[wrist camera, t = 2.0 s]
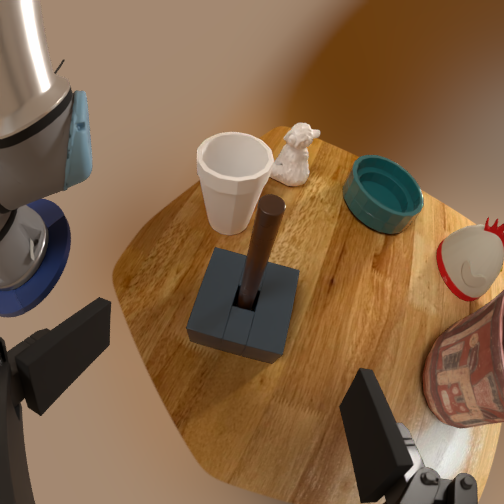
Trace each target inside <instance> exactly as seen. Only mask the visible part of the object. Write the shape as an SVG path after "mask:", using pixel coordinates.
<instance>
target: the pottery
mask: <svg viewBox="0 0 504 504" xmlns="http://www.w3.org/2000/svg"><path fill="white" fill-rule="evenodd" d="M423 390H424V395H425V397H426V400H427V403H428V406H429V409H430V410H431V411H432V412H433V413H434V414H435V415H436V417H437V418H438V419H439V420H440V421H442V422H443V423H445V424H448V425H451V426H454V427H457V428H469V427H475V426H481V425H486V424H493V423H500V422H504V290H503V291H502V292H501V293H500V294H499V295H498V296H496V297H495V298H494V299H493V300H492V301H490V302H489V303H487V304H486V305H485V306H483V307H482V308H480V309H479V310H477V311H476V312H474V313H472V314H470V315H469V316H467V317H465V318H463V319H461V320H460V321H458V322H456V323H454V324H453V325H452V326H450V327H449V328H448V329H447V330H446V331H445V332H444V333H442V334H441V335H440V336H439V337H438V338H437V339H436V341H435V343H434V345H433V347H432V349H431V351H430V353H429V354H428V356H427V358H426V362H425V367H424V371H423Z"/></svg>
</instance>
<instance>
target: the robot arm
mask: <svg viewBox="0 0 504 504" xmlns="http://www.w3.org/2000/svg"><path fill="white" fill-rule="evenodd" d="M63 62H64V60H63V61H62V62H61V64H60V65H59V67H58V68H57V70H56V71H55V72H53V69H52V65H51V60H50V55H49V51H48V46H47V40H46V35H45V29H44V24H43V17H42V11H41V3H40V0H0V291H10V290H14V289H16V288H18V287H20V286H21V285H23V284H24V283H25V282H27V281H28V280H29V279H30V278H31V277H32V276H33V274H34V273H35V272H36V271H37V269H38V268H39V266H40V264H41V262H42V260H43V258H44V256H45V253H46V250H47V246H48V229H47V226H46V224H45V222H44V221H43V219H42V218H41V216H40V215H39V214H38V213H37V212H36V211H34V210H33V209H31V208H30V207H28V206H27V205H26V204H29V203H31V202H34V201H36V200H39V199H41V198H44V197H46V196H49V195H52V194H54V193H57V192H60V191H65V190H67V188H69V187H71V186H73V185H76V184H78V183H81V182H83V181H85V180H86V179H87V178H88V177H89V175H90V174H91V171H92V150H91V139H90V127H89V115H88V105H87V98H86V93H85V92H84V91H75V92H74V93H72V91H71V87H70V83H69V80H68V79H67V78H65V77H63V76H59V75H57V74H56V73H57V71H58V70H59V68H60V67H61V65H62V64H63ZM110 313H111V302H110V301H108V300H105V299H103V298H100V297H99V298H97V299H96V300H94V301H93V302H92V303H90V304H89V305H87V306H85V307H84V308H83V309H81V310H80V311H78V312H77V313H75V314H74V315H72V316H71V317H69V318H68V319H66V320H65V321H64V322H62V323H61V324H59V325H58V326H56V327H55V328H54V329H52V330H49V329H47V328H46V329H43V330H39V331H37V332H35V333H34V334H32V335H31V336H30V337H28V338H26V339H25V340H24V341H22V342H21V343H19V344H18V345H16V346H15V347H13V348H12V349H11V350H9V351H8V352H7V351H6V346H5V341H4V340H3V339H2V338H1V337H0V504H35V501H34V497H33V492H32V488H31V483H30V478H29V472H28V466H27V459H26V452H25V444H24V435H23V421H22V406H21V403H20V402H21V401H22V400H23V399H24V398H25V399H26V403H27V406H28V408H30V409H31V410H33V411H34V412H36V413H37V414H39V415H40V416H41V415H42V414H43V413H44V412H45V411H46V410H47V409H48V408H49V407H50V406H51V405H52V404H53V403H54V402H55V400H56V399H57V398H58V397H59V396H60V395H61V394H62V393H63V392H64V391H65V390H66V389H67V388H68V387H69V386H70V385H71V384H72V383H73V382H74V381H75V380H76V379H77V378H78V376H80V375H81V373H82V372H83V371H84V370H85V369H86V368H87V367H88V366H89V365H90V364H91V363H92V362H93V361H94V360H95V359H96V358H97V357H98V356H99V355H100V354H101V353H102V352H103V351H104V350H105V349H106V348H107V347H108V346H109V345H110ZM339 408H340V412H341V416H342V420H343V424H344V428H345V432H346V437H347V441H348V445H349V450H350V454H351V459H352V463H353V468H354V472H355V477H356V482H357V487H358V492H359V497H360V502H361V503H370V502H377V501H378V500H379V499H380V498H382V497H383V496H384V495H385V499H386V502H385V503H383V504H478V497H477V483H476V480H475V479H474V477H472V476H471V475H470V474H467V473H461V474H458V475H457V476H456V477H455V478H454V479H453V480H448V479H441V478H440V476H439V474H438V473H437V472H436V471H435V470H433V469H431V468H428V467H425V465H424V463H423V461H422V458H421V456H420V454H419V452H418V449H417V447H416V446H415V443H414V440H412V436H411V434H410V432H409V430H408V429H407V428H406V427H405V426H404V424H403V423H396V421H395V418H394V416H393V414H392V412H391V409H390V407H389V405H388V403H387V401H386V398H385V396H384V394H383V392H382V390H381V388H380V385H379V383H378V381H377V379H376V377H375V375H374V373H373V371H372V370H370V369H363V368H359V370H358V372H357V374H356V376H355V378H354V380H353V382H352V384H351V386H350V388H349V390H348V391H347V393H346V395H345V397H344V399H343V401H342V403H341V404H340V406H339Z"/></svg>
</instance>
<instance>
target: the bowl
mask: <svg viewBox="0 0 504 504" xmlns="http://www.w3.org/2000/svg"><path fill="white" fill-rule="evenodd" d="M343 195H344V199H345V201H346V203H347V205H348V207H349V209H350V210H351V211H352V212H353V214H354V215H355V216H356V217H357V218H358V219H359V220H360V221H362V222H363V223H364V224H365V225H367V226H368V227H370V228H372V229H374V230H376V231H378V232H382V233H387V234H395V233H400V232H402V231H403V230H405V229H406V228H407V227H408V226H409V225H410V224H411V222H412V221H413V220H414V219H415V218H416V216H417V215H418V214H419V213H420V211H421V209H422V207H423V205H424V198H423V194H422V191H421V189H420V187H419V185H418V184H417V182H416V181H415V179H414V178H413V177H412V176H411V175H410V174H409V173H408V171H406V170H405V169H404V168H402V167H401V166H400V165H398V164H397V163H395V162H393V161H391V160H389V159H387V158H384V157H381V156H378V155H365V156H362V157H359V158H358V159H357V160H356V161H355V162H354V164H353V166H352V168H351V170H350V172H349V174H348V176H347V178H346V180H345V182H344V186H343Z"/></svg>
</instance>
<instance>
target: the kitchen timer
mask: <svg viewBox="0 0 504 504" xmlns="http://www.w3.org/2000/svg"><path fill="white" fill-rule="evenodd" d="M488 221H489V218H487V221H486V224H485V225H471V226H467V227H464V228H462V229H459V230H457V231H455V232H453V233H452V234H450V235H449V236H448V237H446V238H445V239H444V240H443V241H442V242H441V243H440V244H439V247H438V249H437V264H438V268H439V271H440V274H441V276H442V278H443V280H444V282H445V283H446V285H447V286H448V288H449V289H450V290H451V291H452V293H454V294H455V295H456V296H457V297H459V298H460V299H462V300H465V301H474V300H476V299H478V298H479V297H481V296H482V295H483V294H485V293H486V292H487V290H488V289H489V288H490V286H491V285H492V284H493V282H494V281H495V279H496V278H497V276H498V275H499V273H500V272H501V271H502V265H503V260H504V233H503V231H504V224H502V225H501V226H499V227H497V223H498V219H497V220H496V221H495V223H494V225H493V226H492V227H490V226H489V225H488Z"/></svg>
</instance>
